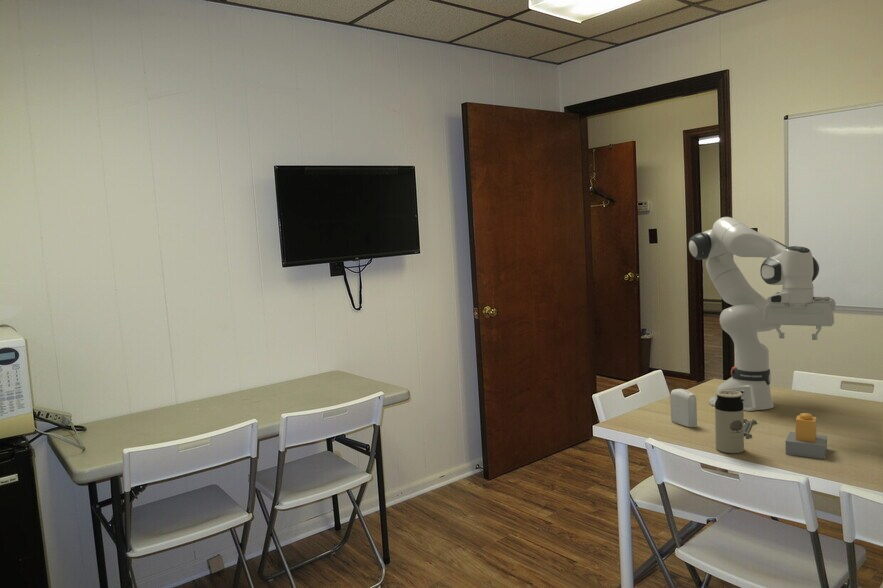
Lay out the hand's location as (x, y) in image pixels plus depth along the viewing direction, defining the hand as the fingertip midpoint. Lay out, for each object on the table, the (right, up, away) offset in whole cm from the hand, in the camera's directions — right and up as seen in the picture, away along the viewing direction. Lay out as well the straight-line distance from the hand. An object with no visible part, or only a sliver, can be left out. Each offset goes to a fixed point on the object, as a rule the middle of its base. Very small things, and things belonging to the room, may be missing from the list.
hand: (798, 338), depth 208 cm
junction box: (-6, -33, -15) cm, 37 cm away
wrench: (-13, -32, +8) cm, 35 cm away
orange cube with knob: (-6, -29, -15) cm, 33 cm away
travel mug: (-27, -34, -10) cm, 44 cm away
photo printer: (-30, -32, +18) cm, 47 cm away
